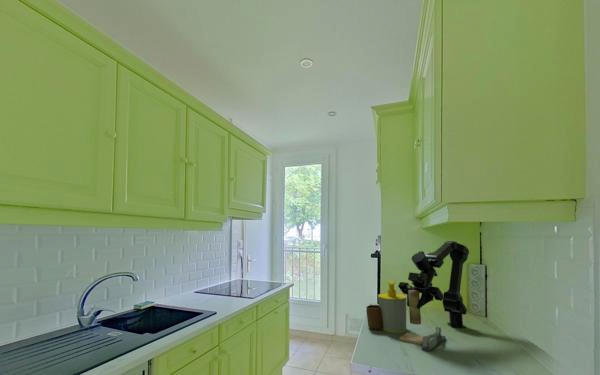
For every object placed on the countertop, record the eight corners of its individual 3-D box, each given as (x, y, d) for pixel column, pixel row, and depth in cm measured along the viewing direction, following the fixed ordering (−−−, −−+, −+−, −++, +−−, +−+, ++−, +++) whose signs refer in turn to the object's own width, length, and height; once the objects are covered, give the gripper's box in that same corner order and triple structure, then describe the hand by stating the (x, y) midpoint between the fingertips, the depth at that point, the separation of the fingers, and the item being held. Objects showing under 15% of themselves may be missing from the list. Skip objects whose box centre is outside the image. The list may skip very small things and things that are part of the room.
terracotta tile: (407, 334, 134) (407, 332, 135) (429, 339, 129) (428, 336, 129) (399, 340, 128) (399, 337, 128) (421, 345, 122) (421, 342, 122)
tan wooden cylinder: (410, 320, 131) (409, 289, 133) (421, 322, 129) (419, 290, 131) (409, 323, 128) (407, 291, 129) (420, 325, 125) (418, 292, 127)
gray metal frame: (437, 337, 131) (437, 326, 132) (446, 339, 129) (445, 327, 129) (422, 350, 117) (421, 337, 117) (431, 352, 115) (430, 339, 115)
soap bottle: (380, 332, 138) (378, 283, 141) (378, 323, 151) (376, 279, 154) (410, 333, 136) (407, 284, 139) (405, 325, 148) (403, 280, 151)
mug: (364, 323, 152) (362, 303, 153) (379, 322, 152) (377, 302, 153) (370, 330, 140) (368, 309, 141) (386, 329, 140) (384, 307, 142)
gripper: (399, 263, 142) (385, 291, 133) (437, 267, 127) (424, 298, 119) (410, 279, 145) (397, 307, 137) (448, 284, 130) (436, 316, 122)
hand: (412, 307), depth 129 cm, fingers closed on tan wooden cylinder, 4 cm apart
